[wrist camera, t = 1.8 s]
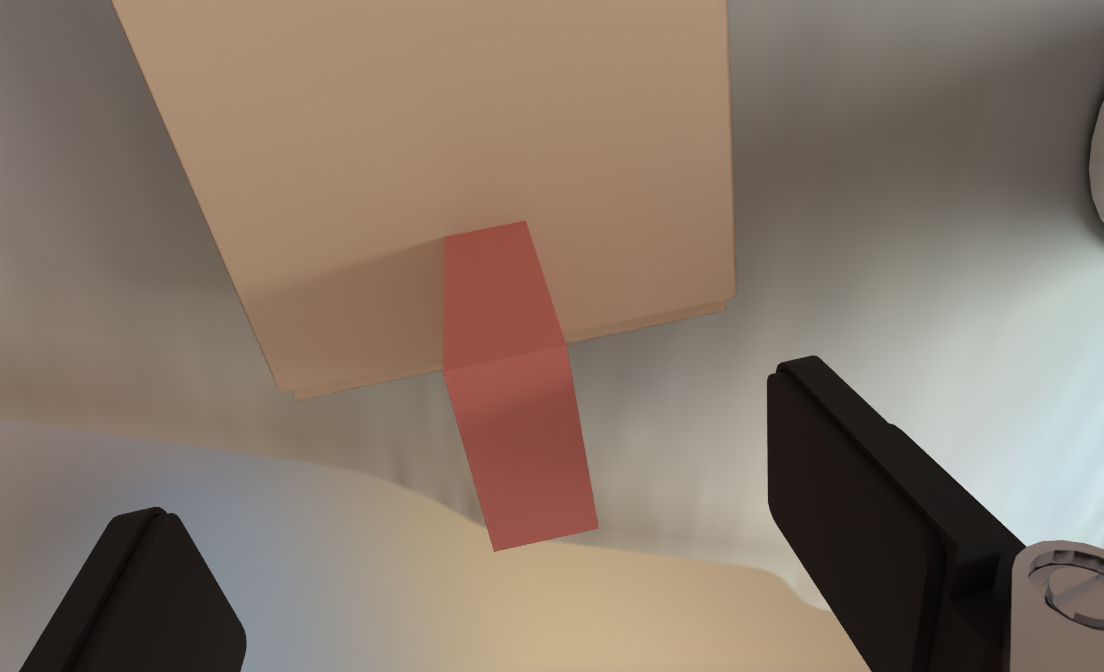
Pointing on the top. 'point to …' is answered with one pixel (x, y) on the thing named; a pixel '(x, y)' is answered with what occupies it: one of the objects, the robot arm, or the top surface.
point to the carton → (568, 337)
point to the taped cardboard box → (455, 196)
